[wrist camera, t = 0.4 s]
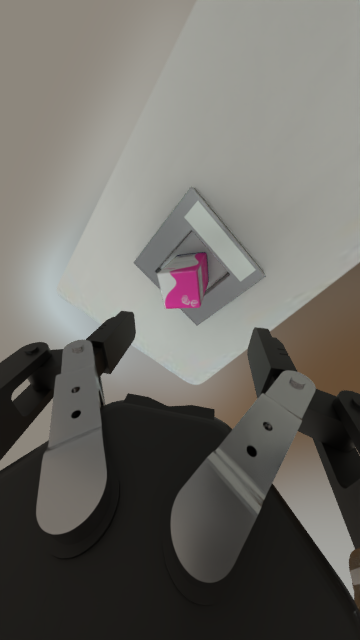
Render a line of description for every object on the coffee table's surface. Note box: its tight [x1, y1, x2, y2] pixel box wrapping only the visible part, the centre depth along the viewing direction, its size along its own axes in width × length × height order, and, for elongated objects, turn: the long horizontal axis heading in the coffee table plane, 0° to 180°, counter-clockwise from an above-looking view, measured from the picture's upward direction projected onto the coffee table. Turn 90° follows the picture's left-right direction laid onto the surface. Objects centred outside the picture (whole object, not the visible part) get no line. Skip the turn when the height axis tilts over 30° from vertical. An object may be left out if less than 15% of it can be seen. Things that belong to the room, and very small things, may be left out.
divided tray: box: [134, 186, 266, 325], centre depth 33 cm, size 16×18×3 cm
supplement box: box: [157, 252, 208, 309], centre depth 30 cm, size 6×6×12 cm
